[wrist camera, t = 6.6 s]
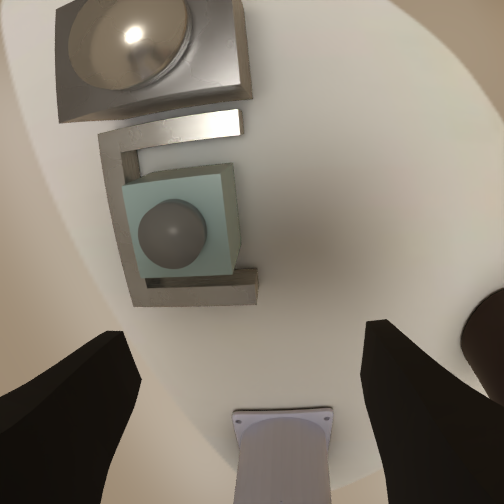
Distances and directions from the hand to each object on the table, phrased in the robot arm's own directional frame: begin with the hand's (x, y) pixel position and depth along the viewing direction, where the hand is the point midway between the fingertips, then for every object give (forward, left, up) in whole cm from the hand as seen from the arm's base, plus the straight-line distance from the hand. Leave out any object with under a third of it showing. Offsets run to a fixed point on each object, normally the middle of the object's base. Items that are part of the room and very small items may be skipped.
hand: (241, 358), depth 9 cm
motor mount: (+5, +4, -10) cm, 11 cm away
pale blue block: (+2, +3, -10) cm, 11 cm away
